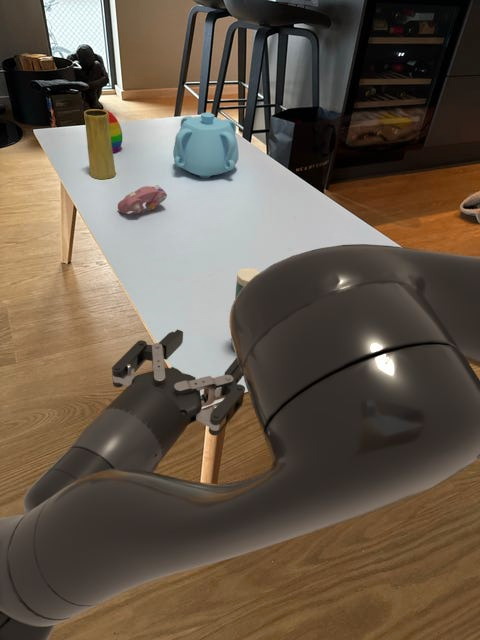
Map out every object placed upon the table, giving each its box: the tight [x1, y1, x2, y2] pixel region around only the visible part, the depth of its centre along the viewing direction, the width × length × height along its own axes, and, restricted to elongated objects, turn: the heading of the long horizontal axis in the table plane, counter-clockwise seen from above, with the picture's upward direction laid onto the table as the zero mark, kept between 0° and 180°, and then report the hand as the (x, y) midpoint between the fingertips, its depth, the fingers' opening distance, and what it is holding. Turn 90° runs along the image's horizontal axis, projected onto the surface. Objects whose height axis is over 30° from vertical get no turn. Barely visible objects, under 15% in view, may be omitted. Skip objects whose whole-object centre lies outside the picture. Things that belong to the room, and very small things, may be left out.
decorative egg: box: [104, 109, 123, 153], centre depth 122 cm, size 8×8×10 cm
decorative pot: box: [172, 112, 240, 179], centre depth 116 cm, size 16×16×14 cm
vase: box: [83, 108, 117, 180], centre depth 108 cm, size 6×6×14 cm
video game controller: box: [117, 184, 168, 215], centre depth 98 cm, size 10×5×7 cm, turn 132°
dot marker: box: [230, 267, 261, 350], centre depth 65 cm, size 3×3×13 cm
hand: (209, 348), depth 57 cm, fingers open, 8 cm apart
